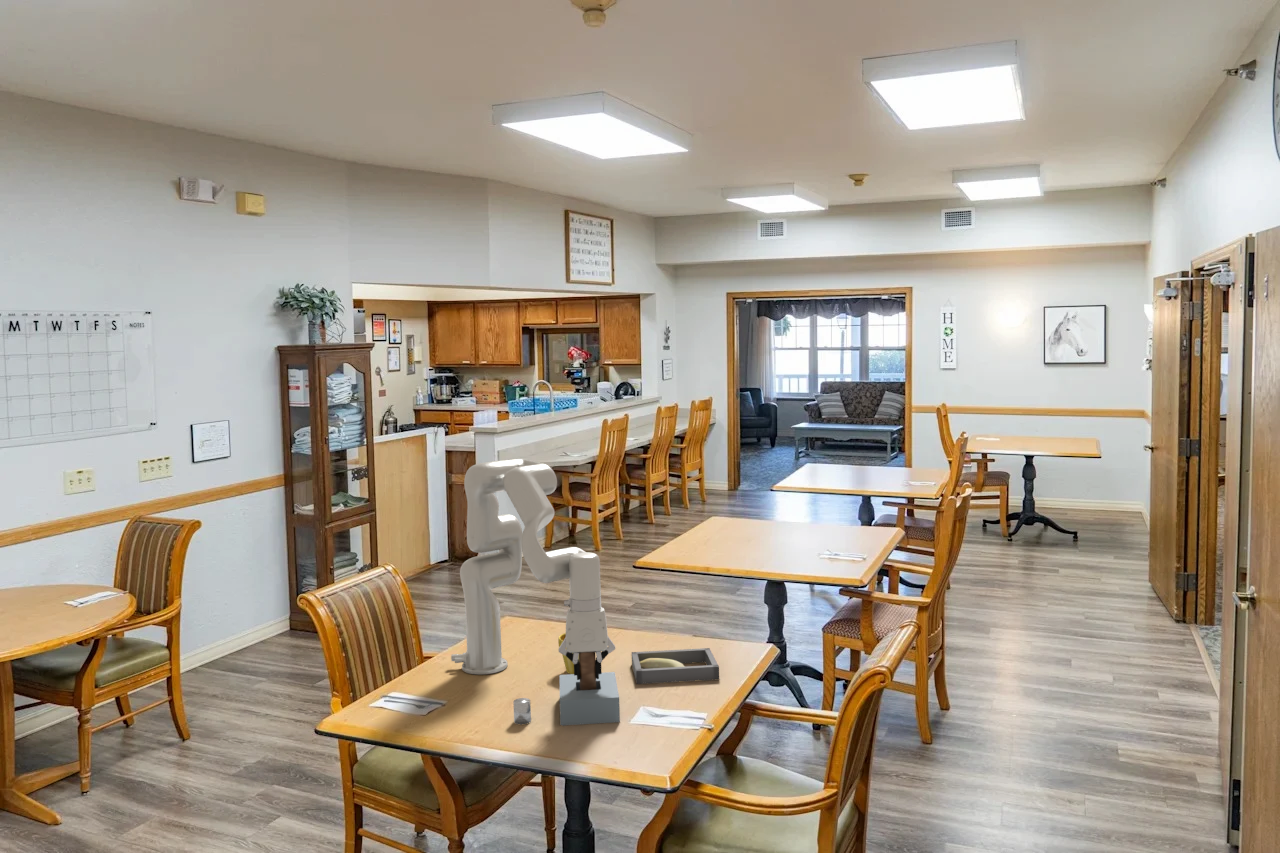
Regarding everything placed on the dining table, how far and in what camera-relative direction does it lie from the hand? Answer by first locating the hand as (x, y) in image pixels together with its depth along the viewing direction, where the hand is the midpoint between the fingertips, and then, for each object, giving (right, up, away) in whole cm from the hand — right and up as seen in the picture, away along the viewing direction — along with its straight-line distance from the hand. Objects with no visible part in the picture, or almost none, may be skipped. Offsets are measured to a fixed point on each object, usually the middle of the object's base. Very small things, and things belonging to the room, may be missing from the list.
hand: (587, 676), depth 232 cm
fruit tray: (+22, -6, +26) cm, 35 cm away
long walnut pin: (0, -6, 0) cm, 6 cm away
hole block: (0, -8, +1) cm, 8 cm away
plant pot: (-4, -6, +29) cm, 30 cm away
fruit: (+19, -6, +26) cm, 33 cm away
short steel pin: (-15, -9, -6) cm, 19 cm away
